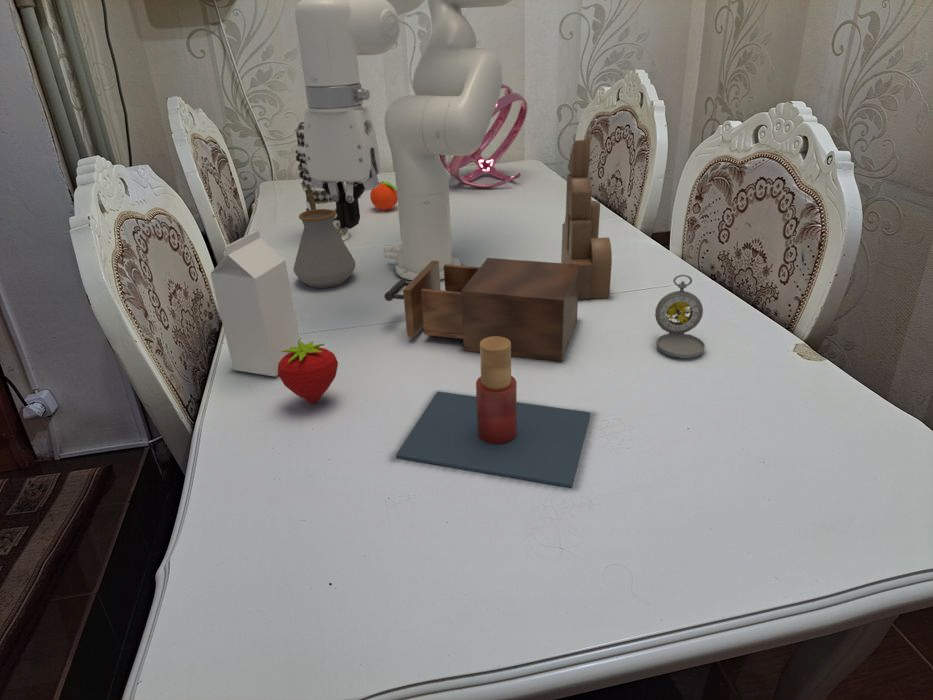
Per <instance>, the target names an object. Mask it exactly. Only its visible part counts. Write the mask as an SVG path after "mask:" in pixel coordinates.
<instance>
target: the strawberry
mask: <svg viewBox="0 0 933 700" xmlns="http://www.w3.org/2000/svg"><path fill="white" fill-rule="evenodd" d="M299 338H300V339H299V342H298V347H290V349H288V350H283V351H282V352H290V353H288V354H286V355H285V356H284V357H283V358H282V359H281V361H280V362H279V363H278V375H277V376H278V377H279V378H280V380H281V382H282V384H283V385H284V387H285V388H287V389H288V390H289V391H291V392H292V393H293V394H294V395H296V396H297V397H300V398H302V399H303V400H305V401H306V402H307V403H310V404H316V403H318V402H319V401H320V400H321V398H322V396H323V395H324V394H325V393H326V392H327V390H328V389H329V388H330V386H331V385H332V383H333V381H334V380H335V378H336V377H337V372H338V367H339V362H338V359H337V357H336V355H335V353H334V352H332V351H330V350H329V349H328V348H324V347H322V346H325V343H319V344H314V340H313V341H310V342H308V343H304V342H303V341H301V339H302V337H299Z"/></svg>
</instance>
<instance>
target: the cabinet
mask: <svg viewBox="0 0 933 700" xmlns="http://www.w3.org/2000/svg"><path fill="white" fill-rule="evenodd" d="M479 267H480V268H479V269H478V270H477V272H476V273H475V274H474V275H473V277H472V278H471V279H470V280H469V282H468V283H467V284H466V285H465V287H464V288H463V289H462V290H461V301H462V323H463V339H462V340H463V341H462V342H463V343H462V345H463V351H465V352H474V353H480V342H481V341H482V340H483V339H485V338H487V337H492V336H500V337H505V338H507V339H509V340H510V342H511V357H518V358H525V359H532V360H533V359H534V360H542V361H551V362H558V363H559V362H560V363H562V362H563V360H564V357H565V355H566V352H567V348H568V346H569V343H570V340H571V338H572V336H573V333H574V330H575V327H576V325H577V322H578V309H579V308H578V307H579V306H578V305H579V300H578V288H579V267H580V265H579V264H565V263H561V262H549V261H536V260H524V259H523V260H522V259H508V258H496V257H492V258H491V257H487V258H485V260H484V261H483V263H482V264H481V265H480V266H479Z"/></svg>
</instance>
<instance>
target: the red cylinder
mask: <svg viewBox="0 0 933 700" xmlns="http://www.w3.org/2000/svg"><path fill="white" fill-rule="evenodd" d="M479 358H480V359H479V361H480V376H479V377H478V378H477V379H476V381H475V397H476V399H477V426H478V436H479V438H480V439H481V440H483V441H484V442H487V443H490V444H504V443H508V442H510V441H512V440H513V439H514V438H515V436H516V434H517V402H518V400H517V399H518V398H517V397H518V396H517V395H518V393H517V392H518V391H517V390H518V388H517V387H518V385H517V383H518V382H517V380H516V378H515V377H514V376H512V356H511V342H510V340H509V339H507V338H505V337H500V336H492V337H487V338H485V339H483V340H482V341H481V342H480V352H479Z"/></svg>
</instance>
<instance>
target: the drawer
mask: <svg viewBox="0 0 933 700" xmlns="http://www.w3.org/2000/svg"><path fill="white" fill-rule="evenodd" d="M480 267H481V266H475V265H473V266H472V265H462V264H461V265H448V264H445V265H444V279H443V280H444V289H443V290H442V288H441V279H440V273H439V261H431V262H430V263H429V264H428V265H427V266H426V267H425V268H424V269H423V270H422V271H421V272H420V273H419V274H418V275H417V276H416V277H415V278H414V279H413V280H410V281H407V279H405V278H400V279H399V280H398V281H397V282H396V283H395V284H393V286H392V287H391V288H390V289H388V291H386V292H385V293H384V295H383V296H384V299H385V300H386V301H388V302H391V301H393V299H395V300H403V305H404V315H405V316H404V317H405V326H406V337H407V338H416V336H418V334H419V333H420V331H421V330H422V329H423V335H424V336H430V337H431V336H432V337H440V338H441V337H442V338H449V339H450V338H451V339H459V340H463V323H462V301H461V290H462V289H463V288H464V287H465V285H466V284H467V283H468V282H469V280H470V279H471V278H472V277H473V275H474V274H475V273H476V272H477V270H478V269H479V268H480ZM400 292H402V293H401V294H400Z"/></svg>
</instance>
